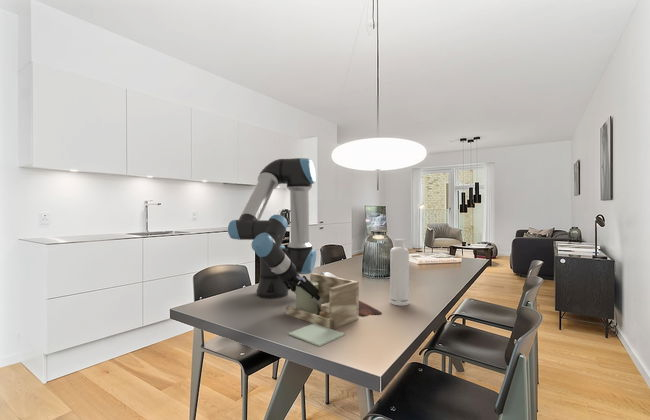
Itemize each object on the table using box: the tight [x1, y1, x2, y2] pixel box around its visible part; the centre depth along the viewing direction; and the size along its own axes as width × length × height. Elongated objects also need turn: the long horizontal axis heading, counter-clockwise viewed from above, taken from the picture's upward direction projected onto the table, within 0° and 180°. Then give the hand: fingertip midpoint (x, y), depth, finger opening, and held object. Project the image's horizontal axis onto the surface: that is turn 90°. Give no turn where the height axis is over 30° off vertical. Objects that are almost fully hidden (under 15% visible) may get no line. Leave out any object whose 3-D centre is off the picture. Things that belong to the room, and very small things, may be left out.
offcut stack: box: [319, 302, 330, 318], centre depth 120 cm, size 7×10×6 cm
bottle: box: [389, 238, 410, 307], centre depth 143 cm, size 8×8×28 cm
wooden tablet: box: [359, 300, 383, 318], centre depth 139 cm, size 26×2×10 cm
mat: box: [288, 323, 345, 347], centre depth 107 cm, size 14×12×1 cm
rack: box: [285, 272, 360, 330], centre depth 125 cm, size 24×15×14 cm, turn 48°
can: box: [295, 280, 319, 315], centre depth 130 cm, size 9×9×12 cm
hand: (312, 300), depth 133 cm, fingers closed on can, 9 cm apart
